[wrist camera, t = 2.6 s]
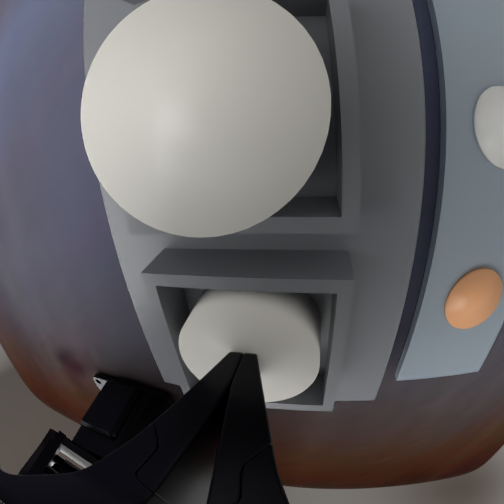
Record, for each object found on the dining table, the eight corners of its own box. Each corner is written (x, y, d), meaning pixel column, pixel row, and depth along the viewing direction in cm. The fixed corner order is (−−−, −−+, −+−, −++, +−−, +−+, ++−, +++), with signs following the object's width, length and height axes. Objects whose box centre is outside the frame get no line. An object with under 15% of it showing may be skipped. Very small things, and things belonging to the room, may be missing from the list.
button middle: (328, 203, 6) (332, 238, 5) (145, 208, 7) (104, 238, 5) (315, 5, 4) (314, -32, 3) (124, 41, 5) (74, 31, 4)
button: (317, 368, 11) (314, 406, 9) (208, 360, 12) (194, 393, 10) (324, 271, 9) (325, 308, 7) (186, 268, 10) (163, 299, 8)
